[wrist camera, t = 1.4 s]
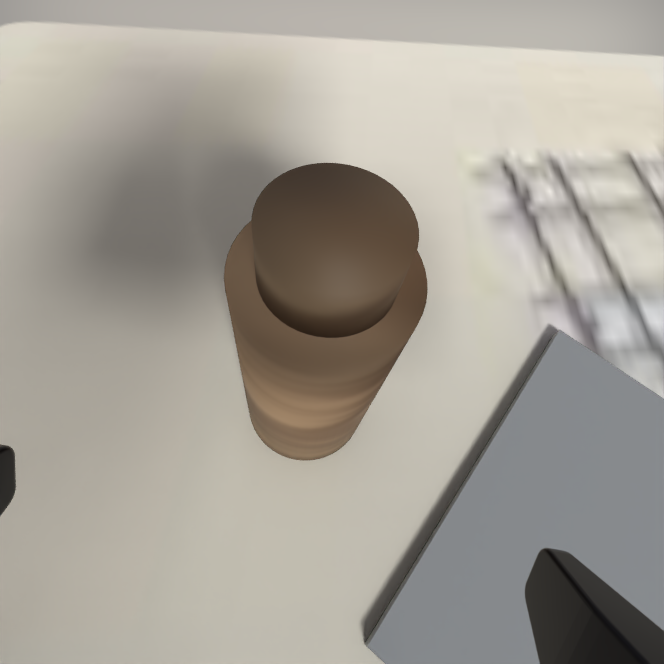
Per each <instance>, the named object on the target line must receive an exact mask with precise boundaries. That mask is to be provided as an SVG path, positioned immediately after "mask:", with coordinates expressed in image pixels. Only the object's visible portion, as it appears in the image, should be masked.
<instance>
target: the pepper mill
mask: <svg viewBox="0 0 664 664" xmlns="http://www.w3.org/2000/svg"><path fill="white" fill-rule="evenodd" d="M418 241H419V229H418V223H417V220H416V217H415V214H414V212H413V210H412V208H411V206H410V204H409V203H408V201H407V200H406V198H405V197H404V196H403V195H402V194H401V193H400V192H399V191H398V190H397V189H396V188H395V187H394V186H393V185H391V184H390V183H389V182H387V181H386V180H385V179H383V178H381V177H379V176H378V175H376V174H374V173H371V172H369V171H367V170H364V169H361V168H358V167H354V166H350V165H345V164H338V163H317V164H310V165H305V166H301V167H298V168H295V169H292V170H290V171H288V172H286V173H284V174H282V175H280V176H279V177H277V178H276V179H274V180H273V181H272V182H271V183H270V184H268V185H267V186H266V188H265V189H264V190H263V191H262V192H261V194H260V196H259V197H258V199H257V201H256V203H255V206H254V209H253V213H252V220H251V221H250V222H249V223H248V224H247V225H246V226H245V227H244V228H243V229H242V231H241V232H240V233H239V234H238V236H237V237H236V239H235V240H234V242H233V244H232V246H231V248H230V251H229V253H228V255H227V260H226V264H225V272H224V282H225V291H226V296H227V301H228V306H229V311H230V316H231V321H232V326H233V332H234V337H235V342H236V347H237V352H238V357H239V362H240V367H241V372H242V377H243V382H244V387H245V392H246V397H247V403H248V408H249V413H250V417H251V421H252V424H253V427H254V429H255V431H256V433H257V434H258V436H259V437H260V438H261V440H262V441H263V442H264V443H265V444H266V445H267V446H268V447H269V448H271V449H272V450H273V451H275V452H277V453H278V454H280V455H282V456H285V457H288V458H291V459H296V460H315V459H320V458H323V457H326V456H328V455H330V454H333V453H334V452H336V451H337V450H339V449H340V448H341V447H343V446H344V445H345V444H346V443H347V442H348V441H349V439H350V438H351V437H352V435H353V434H354V432H355V430H356V429H357V427H358V425H359V423H360V422H361V420H362V418H363V417H364V415H365V413H366V411H367V410H368V408H369V406H370V405H371V403H372V401H373V400H374V398H375V396H376V394H377V393H378V391H379V389H380V388H381V386H382V384H383V383H384V381H385V379H386V377H387V376H388V374H389V372H390V371H391V369H392V367H393V365H394V364H395V362H396V360H397V359H398V357H399V355H400V354H401V352H402V350H403V348H404V347H405V345H406V343H407V342H408V340H409V338H410V336H411V335H412V333H413V331H414V330H415V328H416V326H417V325H418V323H419V320H420V318H421V316H422V314H423V311H424V308H425V304H426V299H427V278H426V272H425V268H424V265H423V262H422V259H421V257H420V255H419V253H418V251H417V248H418Z"/></svg>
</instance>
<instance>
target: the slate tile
mask: <svg viewBox="0 0 664 664" xmlns="http://www.w3.org/2000/svg"><path fill="white" fill-rule="evenodd" d="M543 548H552V549H558V550H563V551H566V552H569V553H570V554H572V555H573V556H574V557H575V558H577V559H578V560H579V561H580V562H581V563H583V564H584V565H585V566H586V567H587V568H589V569H590V570H591V571H592V572H593V573H595V574H596V575H597V576H598V577H600V578H601V579H602V580H603V581H604V582H606V583H607V584H608V585H609V586H610V587H612V588H613V589H614V590H615V591H616V592H618V593H619V594H620V595H621V596H622V597H624V598H625V599H626V600H627V601H629V602H630V603H631V604H632V605H633V606H635V607H636V608H637V609H638V610H639V611H641V612H642V613H643V614H644V615H645V616H647V617H648V618H649V619H650V620H652V621H653V622H654V623H655V624H656V625H658V626H659V627H660V628H661V629H662V630H664V399H663V398H662V397H660V396H659V395H657V394H656V393H654V392H653V391H651V390H650V389H648V388H646V387H645V386H643V385H642V384H640V383H639V382H637V381H636V380H634V379H633V378H631V377H630V376H628V375H627V374H625V373H624V372H622V371H621V370H619V369H618V368H616V367H615V366H613V365H612V364H610V363H609V362H607V361H606V360H604V359H603V358H601V357H600V356H598V355H597V354H595V353H594V352H592V351H591V350H589V349H588V348H586V347H585V346H583V345H582V344H580V343H579V342H577V341H576V340H574V339H573V338H571V337H570V336H568V335H567V334H565V333H564V332H562V331H561V330H559V331H558V332H557V333H555V334H554V335H553V337H552V338H551V340H550V342H549V343H548V345H547V347H546V348H545V350H544V351H543V353H542V355H541V356H540V358H539V360H538V361H537V363H536V365H535V366H534V368H533V369H532V371H531V373H530V374H529V376H528V378H527V379H526V381H525V383H524V384H523V386H522V387H521V389H520V391H519V392H518V394H517V396H516V397H515V399H514V401H513V402H512V404H511V405H510V407H509V409H508V410H507V412H506V414H505V415H504V417H503V419H502V420H501V422H500V423H499V425H498V427H497V428H496V430H495V432H494V433H493V435H492V437H491V438H490V440H489V441H488V443H487V445H486V446H485V448H484V450H483V451H482V453H481V455H480V456H479V458H478V459H477V461H476V463H475V464H474V466H473V468H472V469H471V471H470V473H469V474H468V476H467V477H466V479H465V481H464V482H463V484H462V486H461V487H460V489H459V491H458V492H457V494H456V495H455V497H454V499H453V500H452V502H451V504H450V505H449V507H448V508H447V510H446V512H445V513H444V515H443V517H442V518H441V520H440V522H439V523H438V525H437V526H436V528H435V530H434V531H433V533H432V535H431V536H430V538H429V540H428V541H427V543H426V544H425V546H424V548H423V549H422V551H421V553H420V554H419V556H418V558H417V559H416V561H415V562H414V564H413V566H412V567H411V569H410V571H409V572H408V574H407V576H406V577H405V579H404V580H403V582H402V584H401V585H400V587H399V589H398V590H397V592H396V594H395V595H394V597H393V598H392V600H391V602H390V603H389V605H388V607H387V608H386V610H385V612H384V613H383V615H382V616H381V618H380V620H379V621H378V623H377V625H376V626H375V628H374V630H373V631H372V633H371V634H370V636H369V638H368V639H367V641H366V643H365V645H366V646H367V647H368V648H369V649H370V650H371V651H372V652H373V653H375V654H376V655H377V656H378V657H379V658H380V659H381V660H382V661H383V662H384V663H385V664H540V663H539V659H538V654H537V650H536V645H535V641H534V636H533V632H532V628H531V623H530V619H529V614H528V610H527V605H526V601H525V585H526V581H527V579H528V576H529V574H530V572H531V569H532V567H533V564H534V562H535V560H536V557H537V555H538V553H539V551H540V550H541V549H543Z"/></svg>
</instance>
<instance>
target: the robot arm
mask: <svg viewBox="0 0 664 664" xmlns="http://www.w3.org/2000/svg"><path fill="white" fill-rule="evenodd" d="M15 488H16V479H15V453H14V451H13V449H12V448H11V447H9V446H6V445H1V444H0V516H1V514H2V513H3V512H4V510H5V509H6V508H7V506H8V505H9V504H10V502H11V500H12V498H13V496H14V493H15ZM525 601H526V605H527V610H528V614H529V619H530V623H531V628H532V632H533V636H534V641H535V645H536V650H537V654H538V659H539V663H540V664H664V630H662V629H661V628H660V627H659V626H658V625H656V624H655V623H654V622H653V621H652V620H650V619H649V618H648V617H647V616H645V615H644V614H643V613H642V612H641V611H639V610H638V609H637V608H636V607H635V606H633V605H632V604H631V603H630V602H629V601H627V600H626V599H625V598H624V597H622V596H621V595H620V594H619V593H618V592H616V591H615V590H614V589H613V588H612V587H610V586H609V585H608V584H607V583H606V582H604V581H603V580H602V579H601V578H600V577H598V576H597V575H596V574H595V573H593V572H592V571H591V570H590V569H589V568H587V567H586V566H585V565H584V564H583V563H581V562H580V561H579V560H578V559H577V558H575V557H574V556H573V555H572V554H570V553H569V552H566V551H563V550H558V549H552V548H543V549H541V550H540V551H539V553H538V555H537V557H536V560H535V562H534V564H533V567H532V569H531V572H530V574H529V576H528V579H527V581H526V585H525Z"/></svg>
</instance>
